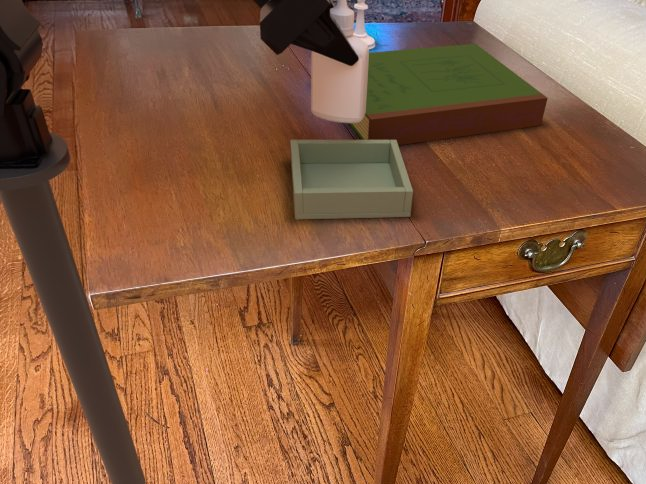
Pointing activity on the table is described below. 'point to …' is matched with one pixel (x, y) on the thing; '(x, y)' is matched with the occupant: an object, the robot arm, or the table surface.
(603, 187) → the table surface
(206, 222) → the table surface
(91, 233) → the table surface
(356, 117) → the eye dropper bottle
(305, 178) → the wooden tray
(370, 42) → the chess piece
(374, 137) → the hardcover book
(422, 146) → the table surface
